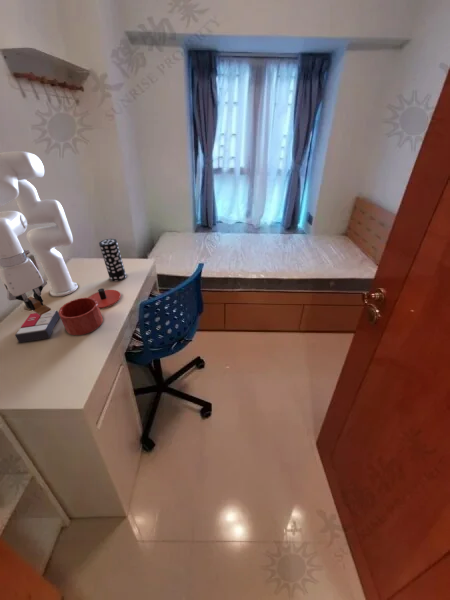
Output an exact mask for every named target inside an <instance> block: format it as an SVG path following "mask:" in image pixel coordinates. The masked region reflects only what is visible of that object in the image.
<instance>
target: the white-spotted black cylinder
mask: <svg viewBox="0 0 450 600" xmlns="http://www.w3.org/2000/svg"><path fill="white" fill-rule="evenodd" d="M98 245H99V248H100V251H101V255H102V259H103V262H104V265H105V268H106V271H107V274H108V278H109V280H110V281H111V282H121V281H123V280H125V279H126V278H127V274H126V270H125V266H124V262H123V259H122V255H121V252H120V248H119V244H118V240H117V239H116V238H105V239H103V240H101V241H99V242H98Z"/></svg>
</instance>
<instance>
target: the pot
mask: <svg viewBox="0 0 450 600" xmlns="http://www.w3.org/2000/svg"><path fill="white" fill-rule="evenodd" d="M100 309H101V308H99V306H98V304H97V301H96V300H95V299H92V298H89V297H80V298H75V299H72V300H70V301H68V302H66V303H64V304H63V305H62V306H61V307H59V310H58V313H59V316H60V317H59V319H60V320H61V323H62V325H63V326H64V329H65V331H66V332H67V333H68V334H69V335H72V336H83V335H87V334H90V333H92V332H94V331H96V330H97V329H99V328H100V326H101V325H102V324H103V323H104V319H103V314H102V313H101V310H100Z"/></svg>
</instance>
